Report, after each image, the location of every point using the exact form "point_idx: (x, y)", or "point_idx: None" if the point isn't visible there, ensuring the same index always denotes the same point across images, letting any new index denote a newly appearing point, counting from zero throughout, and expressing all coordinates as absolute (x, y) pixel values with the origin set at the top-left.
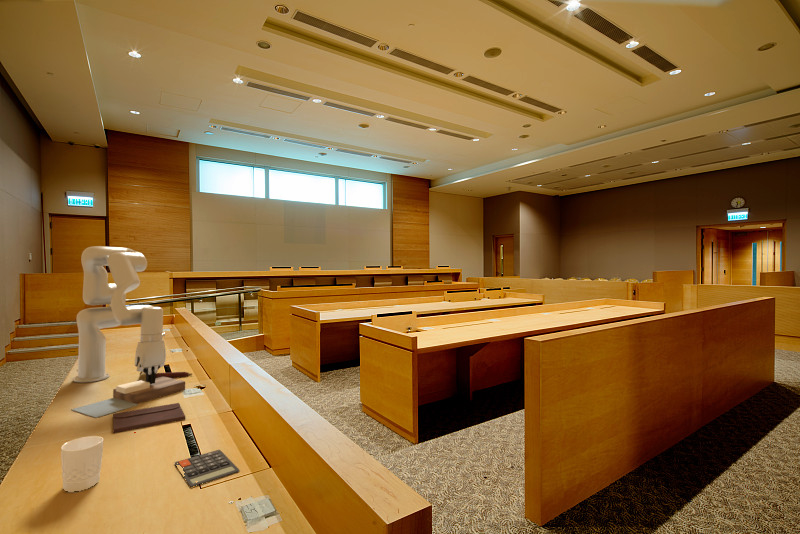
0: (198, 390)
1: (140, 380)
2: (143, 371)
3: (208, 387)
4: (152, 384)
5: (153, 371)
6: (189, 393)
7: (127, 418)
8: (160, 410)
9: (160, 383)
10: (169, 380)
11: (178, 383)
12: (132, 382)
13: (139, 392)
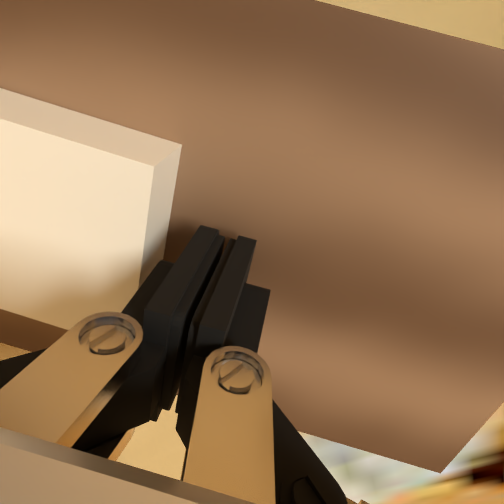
0: (413, 473)
1: (140, 174)
2: (3, 377)
3: (496, 500)
4: (260, 261)
5: (184, 442)
6: (337, 452)
7: None
8: None
9: (319, 318)
10: (462, 339)
11: (364, 449)
12: (10, 142)
13: (18, 315)
